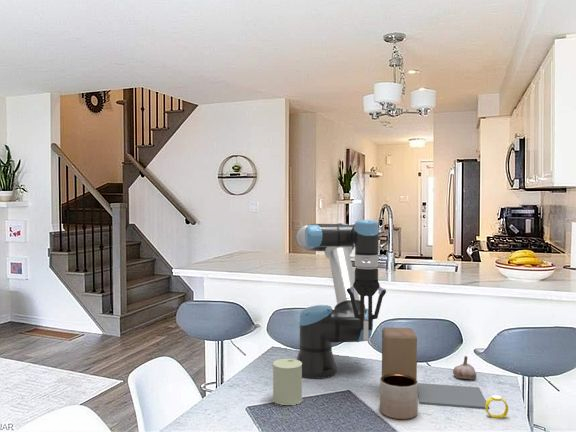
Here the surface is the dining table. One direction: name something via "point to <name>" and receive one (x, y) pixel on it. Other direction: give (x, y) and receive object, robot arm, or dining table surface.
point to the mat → (451, 396)
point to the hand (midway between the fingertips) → (366, 339)
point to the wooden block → (399, 351)
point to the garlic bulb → (464, 371)
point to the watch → (496, 398)
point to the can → (287, 381)
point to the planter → (398, 396)
